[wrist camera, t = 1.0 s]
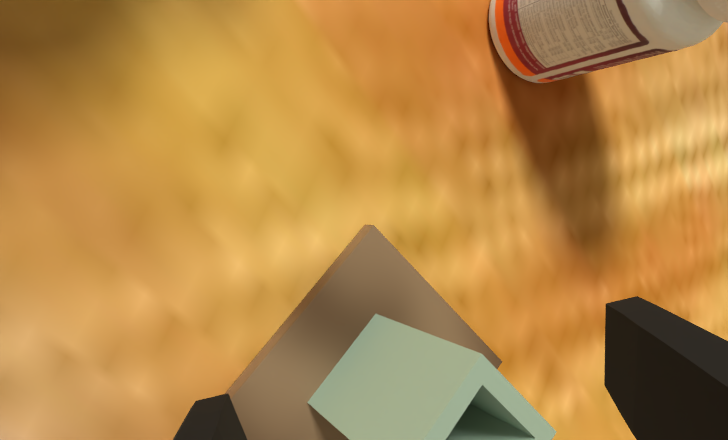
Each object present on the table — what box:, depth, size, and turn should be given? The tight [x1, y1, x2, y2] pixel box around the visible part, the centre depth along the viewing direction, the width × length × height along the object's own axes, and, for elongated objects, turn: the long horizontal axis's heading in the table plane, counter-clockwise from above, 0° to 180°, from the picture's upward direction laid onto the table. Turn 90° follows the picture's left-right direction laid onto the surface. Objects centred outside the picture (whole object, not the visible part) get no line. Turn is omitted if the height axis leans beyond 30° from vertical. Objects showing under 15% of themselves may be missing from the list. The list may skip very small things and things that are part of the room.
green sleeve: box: [307, 314, 556, 440], centre depth 20 cm, size 5×5×7 cm
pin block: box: [225, 225, 502, 440], centre depth 22 cm, size 10×10×4 cm
